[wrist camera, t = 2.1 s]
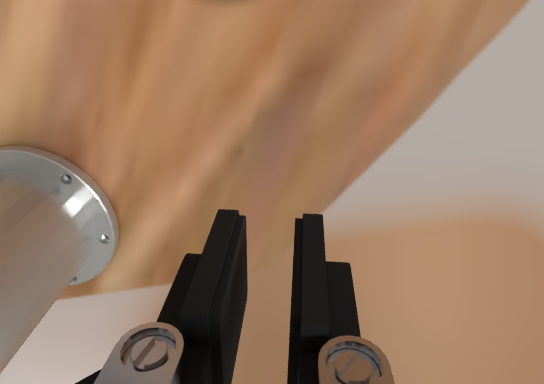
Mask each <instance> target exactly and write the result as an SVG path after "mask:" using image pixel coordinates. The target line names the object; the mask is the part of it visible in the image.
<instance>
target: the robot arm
mask: <svg viewBox="0 0 544 384" xmlns="http://www.w3.org/2000/svg"><path fill="white" fill-rule="evenodd" d="M118 239H119V234H118V223H117V220H116V216H115V212H114V210H113V208H112V206H111V204H110V202H109V200H108V198H107V197H106V196H105V194H104V193H103V191H102V190H101V189H100V187H99V186H98V185H97V184H96V183H95V182H94V181H93V180H92V179H91V178H90V177H89V176H88V175H87V174H86V173H85V172H83V171H82V170H81V169H79V168H78V167H77V166H75V165H74V164H72V163H71V162H69V161H67V160H65V159H63V158H62V157H60V156H58V155H55V154H53V153H50V152H47V151H45V150H42V149H38V148H33V147H28V146H13V145H9V146H3V147H0V373H1V372H2V371H3V369H4V368H5V367H6V365H7V364H8V363H9V361H10V360H11V359H12V357H13V356H14V355H15V354H16V352H17V351H18V350H19V348H20V347H21V346H22V345H23V343H24V342H25V341H26V339H27V338H28V337H29V335H30V334H31V333H32V331H33V330H34V329H35V327H36V326H37V325H38V323H39V322H40V321H41V319H42V318H43V317H44V316H45V314H46V313H47V312H48V310H49V309H50V308H51V306H52V305H53V304H54V302H55V301H56V300H57V298H58V297H59V296H60V295H61V293H62V292H63V291H64V289H65V288H66V287H67V286H70V285H77V284H80V283H83V282H87V281H88V280H90V279H92V278H94V277H96V276H97V275H98V274H99V273H101V272H102V271H103V270H104V269H105V267H106V266H107V265H108V263H109V262H110V260H111V259H112V257H113V255H114V253H115V251H116V249H117V244H118ZM325 260H326V259H325V243H324V227H323V215H321V214H303V219H299V218H295V236H294V256H293V279H292V297H291V319H290V338H289V359H288V380H287V384H395V383H394V380H393V375H392V372H391V368H390V364H389V362H388V360H387V357H386V356H385V354H384V353H383V352H382V351H381V349H380V348H378V347H377V346H376V345H375V344H373V343H372V342H370V341H368V340H366V339H363V338H361V336H360V329H359V322H358V315H357V308H356V301H355V294H354V287H353V280H352V274H351V267H350V264H349V263H345V262H326V261H325ZM246 301H247V241H246V216H242V215H239V211H238V210H224V209H219V210H218V212H217V215H216V217H215V220H214V223H213V225H212V228H211V231H210V233H209V236H208V239H207V241H206V244H205V247H204V249H203V252H202V254H191V253H188V254H186V255H185V257H184V259H183V261H182V263H181V266H180V268H179V270H178V273H177V275H176V277H175V280H174V282H173V284H172V287H171V289H170V291H169V294H168V296H167V298H166V301H165V303H164V305H163V308H162V310H161V312H160V315H159V317H158V319H157V322H151V323H147V324H143V325H140V326H137V327H135V328H133V329H131V330H130V331H128V332H127V333H126V334H125V335H123V336H122V337H121V338H120V340H119V341H118V342H117V344H116V345H115V347H114V348H113V350H112V352H111V354H110V356H109V357H108V359H107V361H106V363H105V364H104V366H103V368H102V369H101V370H99V371H97V372H95V373H93V374H92V375H90V376H88V377H86V378H84V379H83V380H81V381H79V382H77V383H75V384H231V382H232V377H233V371H234V366H235V361H236V355H237V350H238V344H239V339H240V333H241V328H242V323H243V317H244V312H245V306H246Z"/></svg>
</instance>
